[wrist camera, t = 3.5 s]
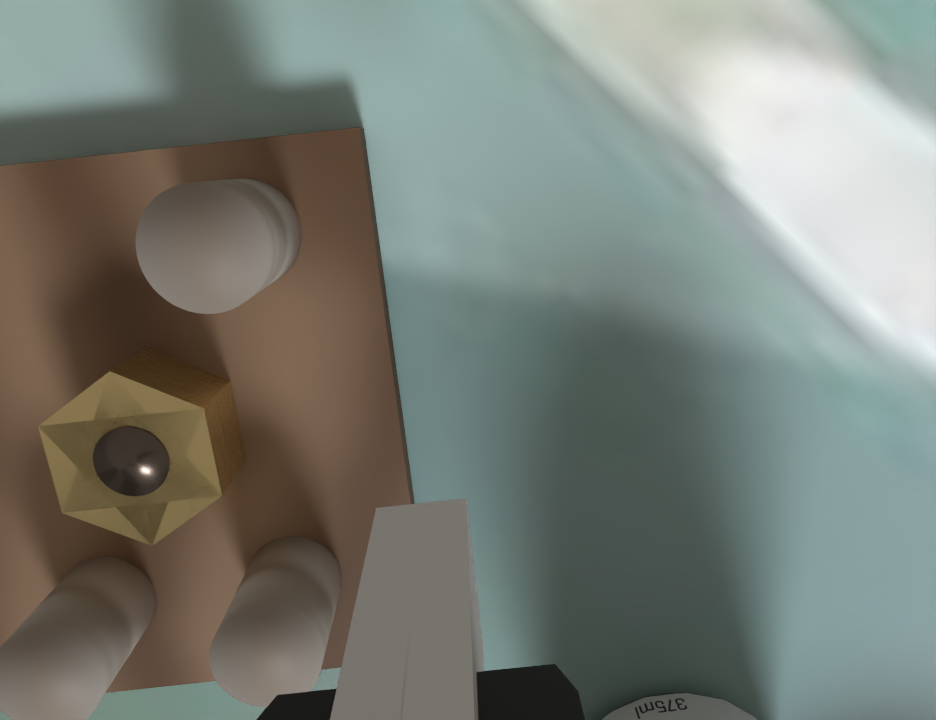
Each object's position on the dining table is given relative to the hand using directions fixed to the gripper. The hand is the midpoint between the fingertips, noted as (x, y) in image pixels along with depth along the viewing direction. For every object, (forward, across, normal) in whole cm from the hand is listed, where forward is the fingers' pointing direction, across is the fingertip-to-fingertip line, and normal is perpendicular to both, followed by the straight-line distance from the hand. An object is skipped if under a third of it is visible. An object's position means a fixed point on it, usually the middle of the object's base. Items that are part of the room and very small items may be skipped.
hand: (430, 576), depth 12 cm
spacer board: (+11, -12, -1) cm, 17 cm away
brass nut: (+10, -8, 0) cm, 13 cm away
